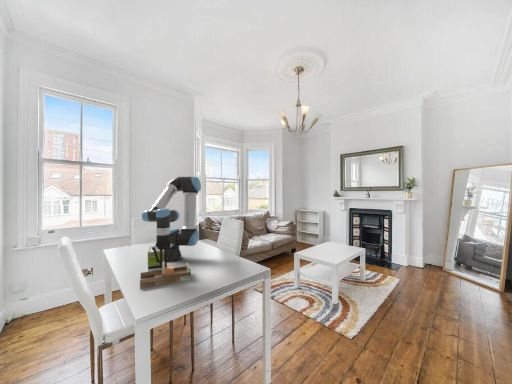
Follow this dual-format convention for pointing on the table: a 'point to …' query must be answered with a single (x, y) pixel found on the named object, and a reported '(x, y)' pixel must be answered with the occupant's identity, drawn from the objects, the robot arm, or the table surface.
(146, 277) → the track
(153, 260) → the tea box
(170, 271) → the block
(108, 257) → the table surface
